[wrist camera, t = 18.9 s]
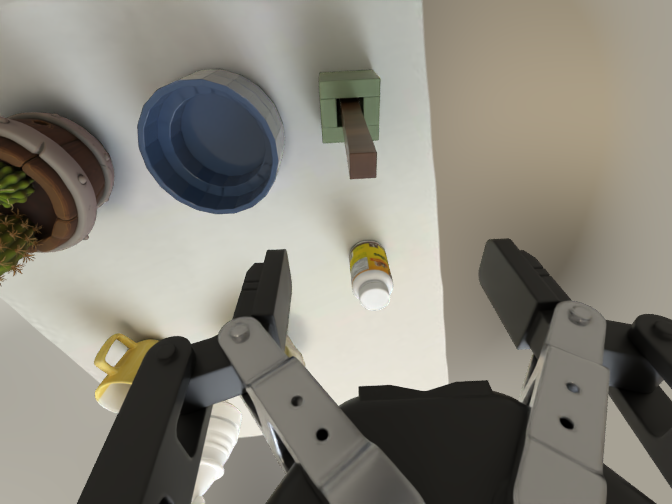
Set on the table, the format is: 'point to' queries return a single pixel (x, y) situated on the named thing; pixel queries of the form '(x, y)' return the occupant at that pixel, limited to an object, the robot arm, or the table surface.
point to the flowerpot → (48, 185)
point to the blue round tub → (212, 141)
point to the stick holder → (348, 86)
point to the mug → (119, 371)
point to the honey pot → (217, 447)
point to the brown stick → (357, 141)
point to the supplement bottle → (370, 275)
